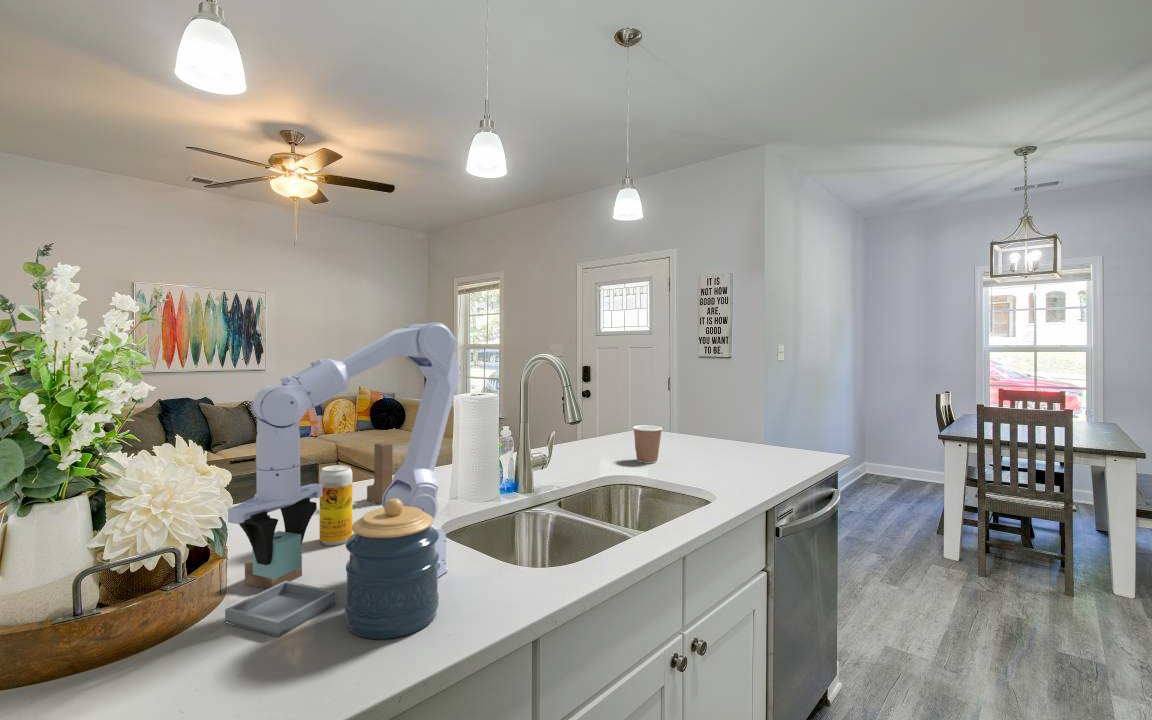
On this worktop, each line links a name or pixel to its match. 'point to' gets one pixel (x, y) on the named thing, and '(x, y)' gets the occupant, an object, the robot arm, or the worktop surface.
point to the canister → (392, 572)
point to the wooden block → (381, 471)
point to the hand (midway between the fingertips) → (279, 556)
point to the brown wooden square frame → (265, 581)
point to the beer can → (336, 504)
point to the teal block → (281, 556)
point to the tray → (280, 608)
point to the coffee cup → (647, 442)
